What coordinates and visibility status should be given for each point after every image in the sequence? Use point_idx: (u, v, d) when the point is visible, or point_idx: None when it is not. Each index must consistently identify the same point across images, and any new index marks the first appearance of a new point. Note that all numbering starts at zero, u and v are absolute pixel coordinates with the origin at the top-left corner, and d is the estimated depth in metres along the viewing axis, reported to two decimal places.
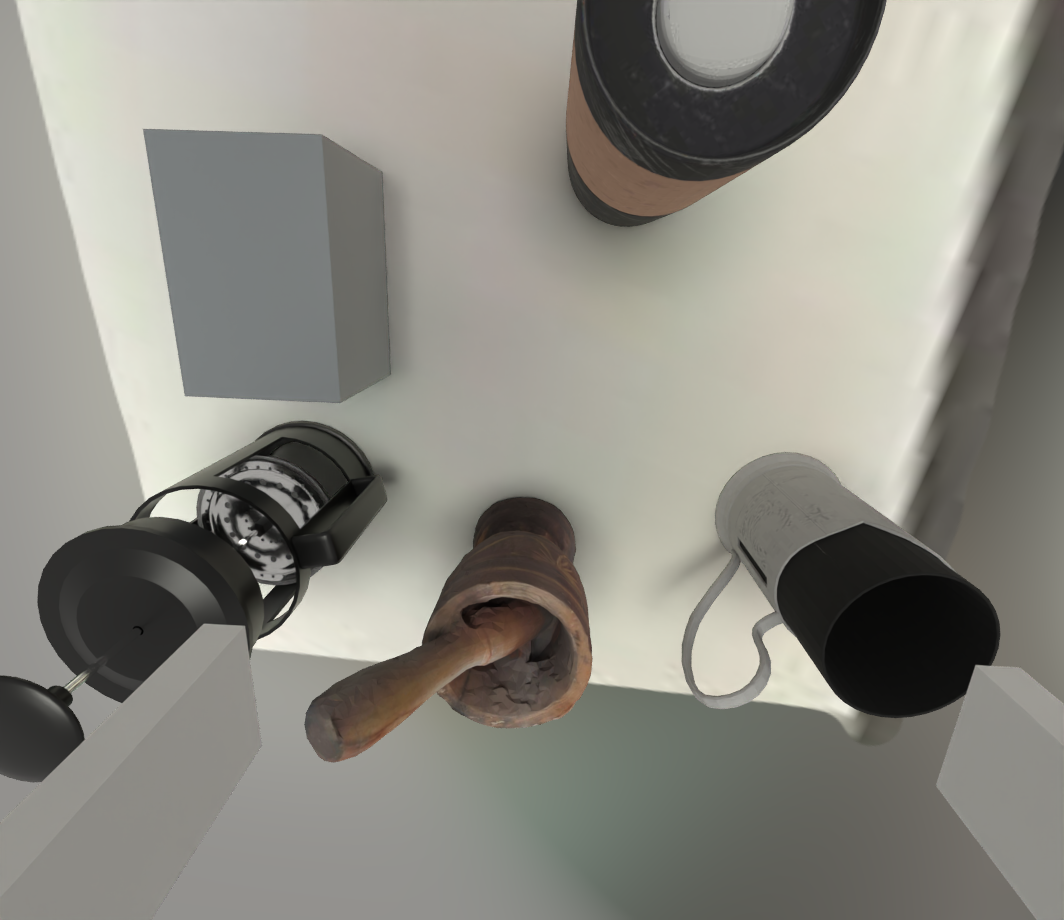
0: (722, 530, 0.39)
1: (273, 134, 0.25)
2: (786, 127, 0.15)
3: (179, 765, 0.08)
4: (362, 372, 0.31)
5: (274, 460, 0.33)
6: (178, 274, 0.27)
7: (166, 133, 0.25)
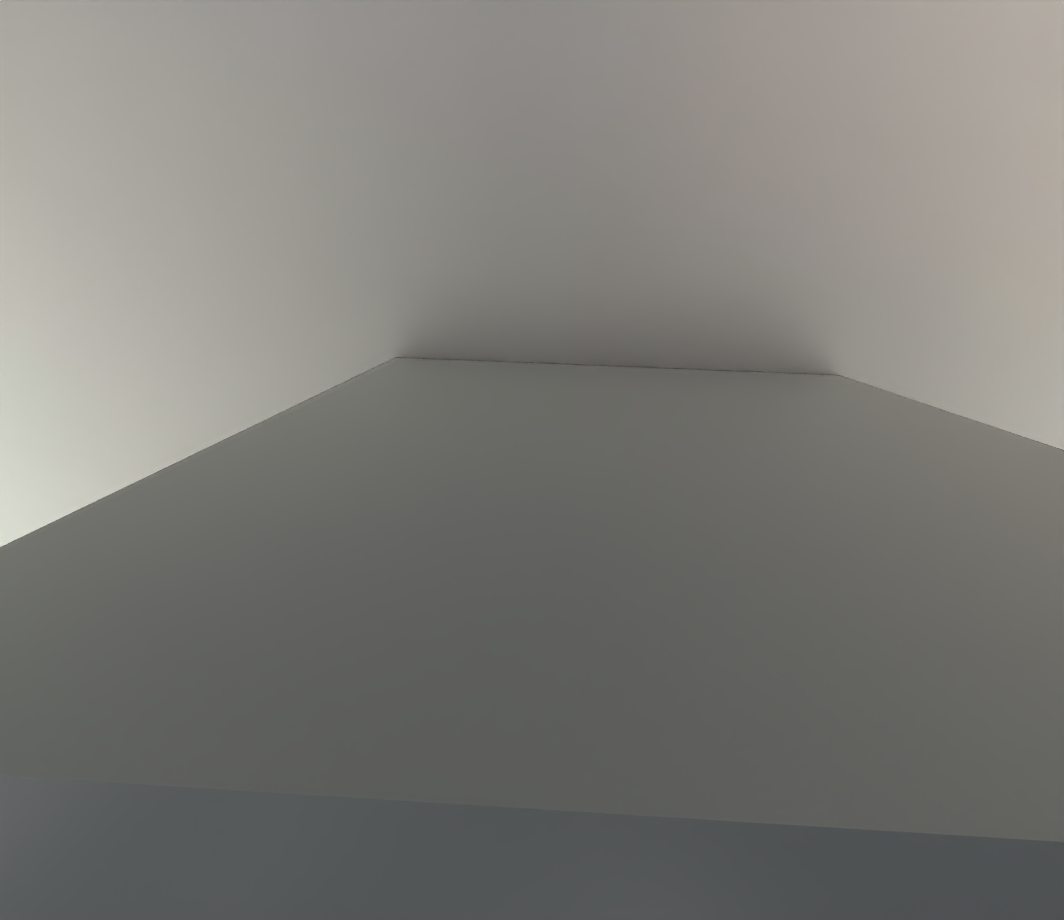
0: None
1: None
2: None
3: None
4: None
5: None
6: None
7: None
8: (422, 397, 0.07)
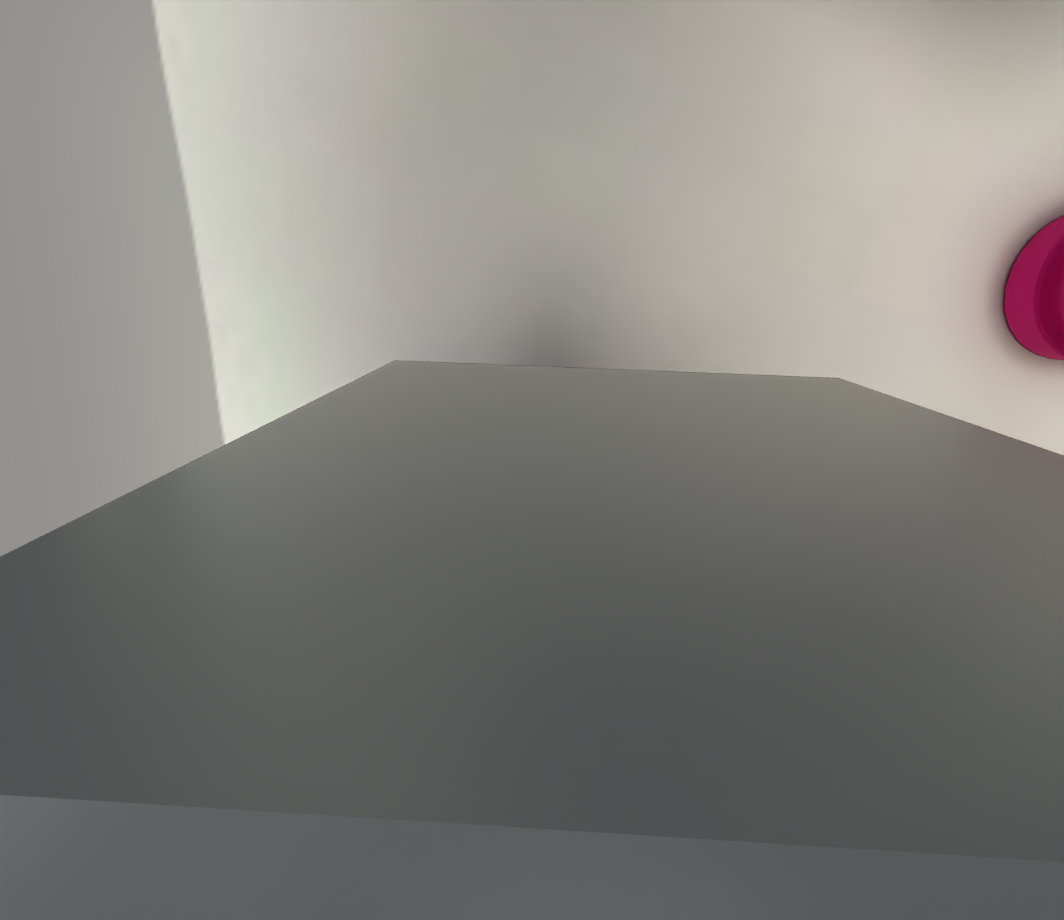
0: None
1: None
2: None
3: None
4: None
5: None
6: None
7: None
8: (421, 401, 0.07)
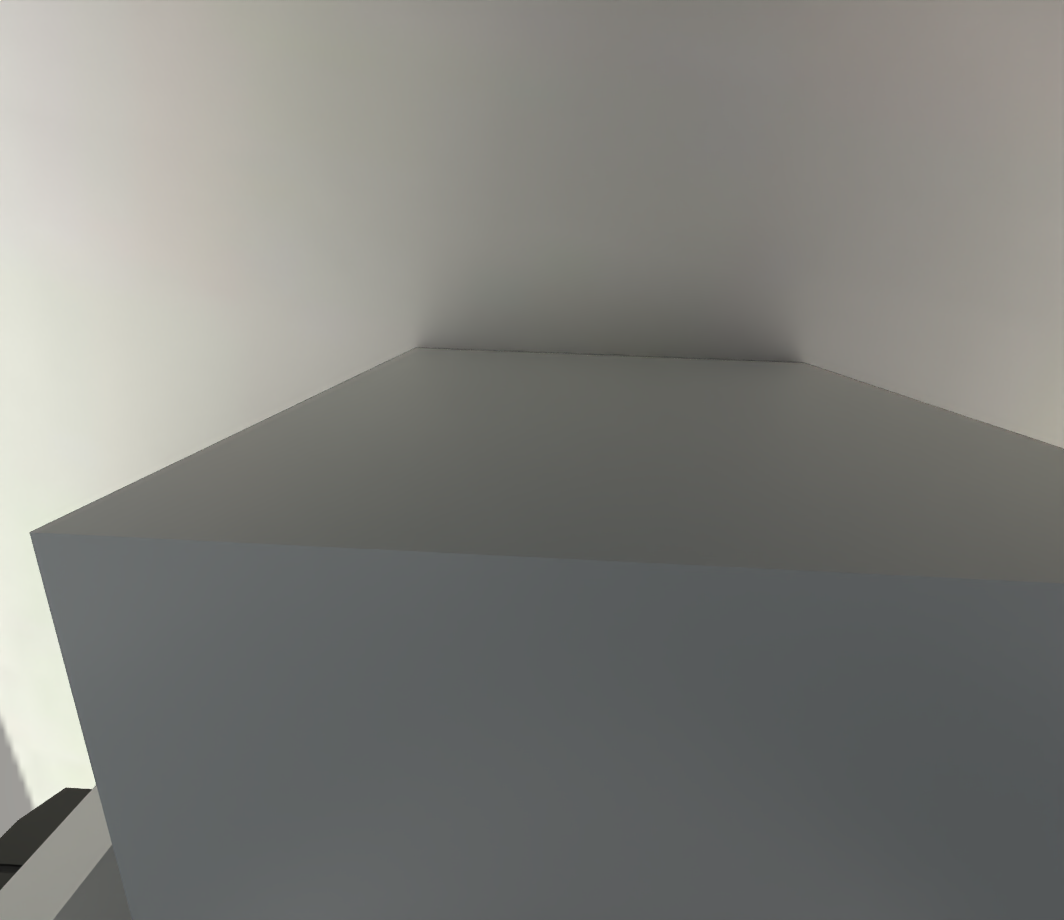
0: None
1: None
2: None
3: None
4: None
5: None
6: None
7: (215, 570, 0.03)
8: (446, 376, 0.08)
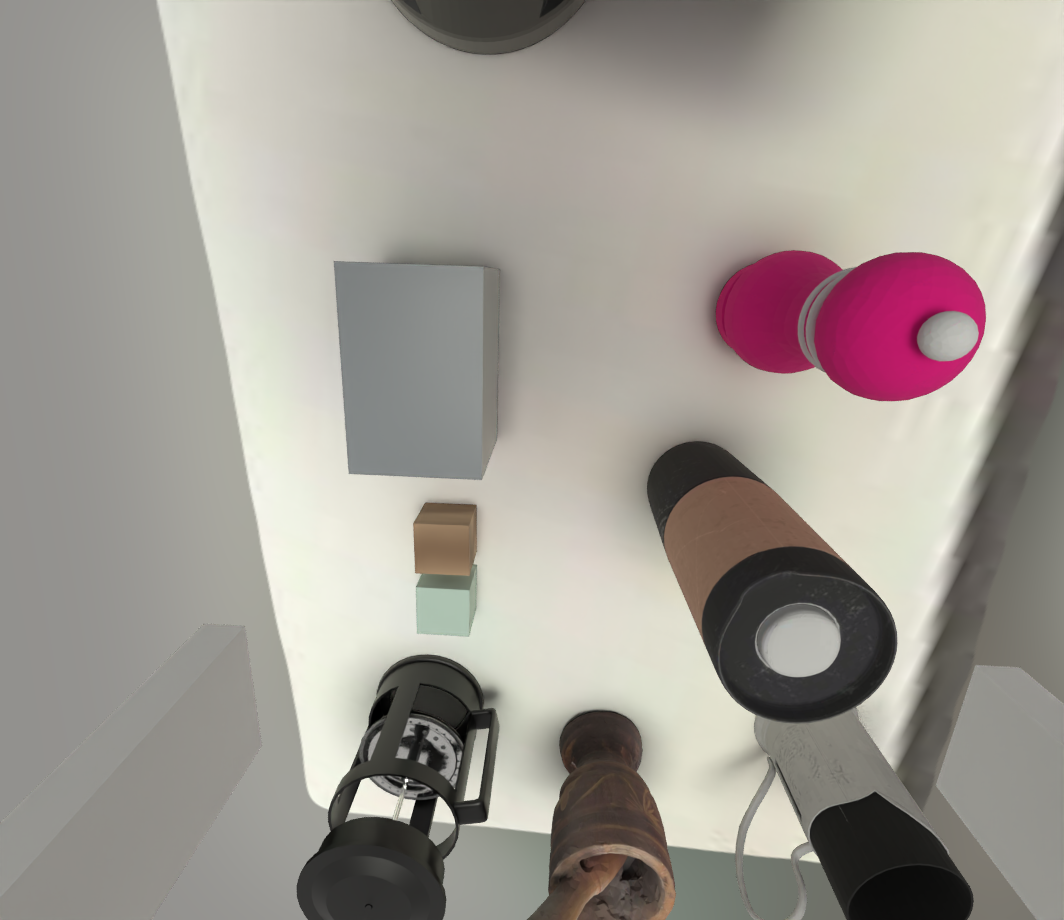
0: (760, 738, 0.49)
1: (442, 266, 0.30)
2: (833, 692, 0.25)
3: (179, 765, 0.08)
4: (488, 447, 0.36)
5: (422, 715, 0.42)
6: (352, 375, 0.32)
7: (353, 265, 0.30)
8: None
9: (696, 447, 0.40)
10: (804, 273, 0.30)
